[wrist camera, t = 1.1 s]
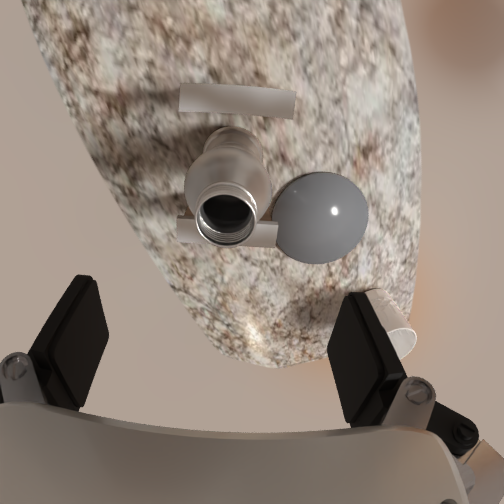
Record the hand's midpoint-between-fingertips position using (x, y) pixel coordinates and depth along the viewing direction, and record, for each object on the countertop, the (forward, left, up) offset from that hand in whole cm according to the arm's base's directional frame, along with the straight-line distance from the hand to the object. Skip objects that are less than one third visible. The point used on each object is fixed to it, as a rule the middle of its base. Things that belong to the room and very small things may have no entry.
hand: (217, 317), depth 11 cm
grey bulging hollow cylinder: (0, 0, -28) cm, 28 cm away
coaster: (+8, +12, -28) cm, 31 cm away
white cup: (+22, +24, -28) cm, 43 cm away
